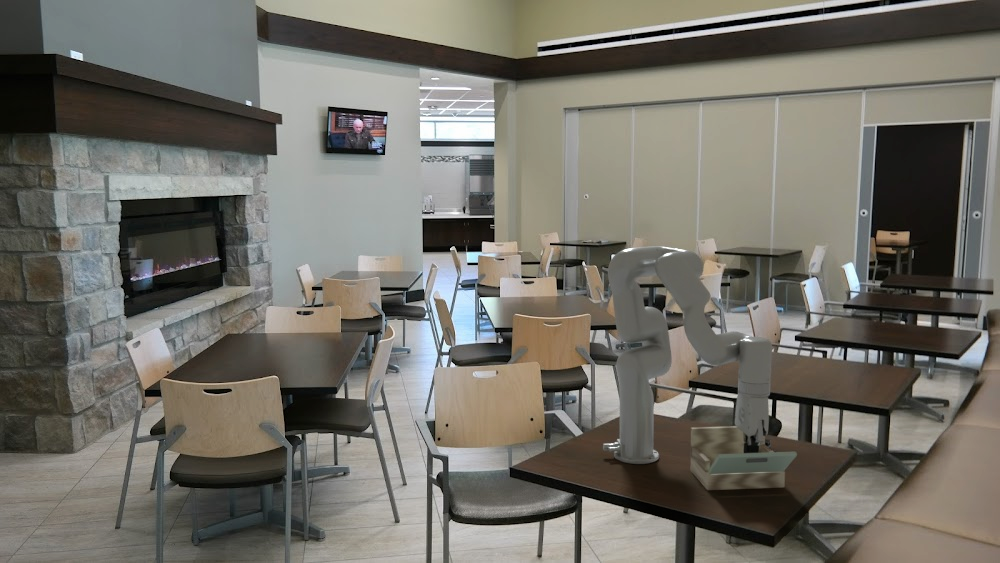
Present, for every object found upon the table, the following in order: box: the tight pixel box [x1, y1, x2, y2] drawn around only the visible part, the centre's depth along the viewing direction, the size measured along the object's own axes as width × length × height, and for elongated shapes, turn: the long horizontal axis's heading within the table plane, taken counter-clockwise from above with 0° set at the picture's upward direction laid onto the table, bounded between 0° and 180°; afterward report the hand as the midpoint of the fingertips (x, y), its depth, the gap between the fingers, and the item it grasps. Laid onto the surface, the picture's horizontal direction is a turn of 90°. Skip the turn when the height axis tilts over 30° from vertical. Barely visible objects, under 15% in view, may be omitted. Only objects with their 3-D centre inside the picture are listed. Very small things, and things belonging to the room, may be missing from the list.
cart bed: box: [689, 425, 786, 491], centre depth 200 cm, size 20×14×12 cm
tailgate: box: [708, 451, 798, 474], centre depth 189 cm, size 19×2×10 cm
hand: (750, 459), depth 190 cm, fingers closed
